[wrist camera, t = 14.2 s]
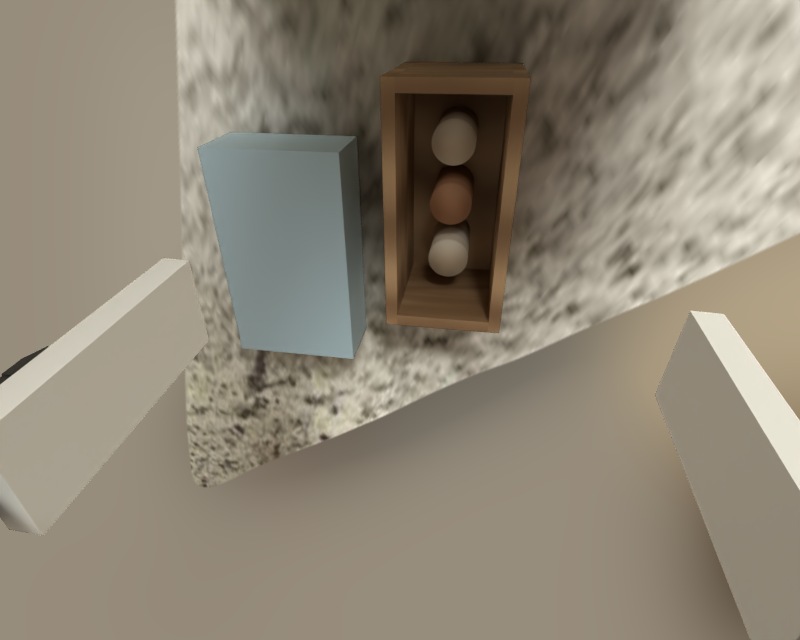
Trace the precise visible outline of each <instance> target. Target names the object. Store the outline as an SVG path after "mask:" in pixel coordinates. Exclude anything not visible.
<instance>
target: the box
mask: <svg viewBox="0 0 800 640" xmlns="http://www.w3.org/2000/svg"><path fill="white" fill-rule="evenodd" d="M530 82H531V78H530V76H529V74H528V72H527V70H526V68H525V67H524V65H523V63H458V62H405V63H403V64H401V65H399V66H398V67H396V68H394V69H393V70H391V71H389V72H387V73H386V74H384V75H382V76H380V99H381V137H382V175H383V212H384V250H385V288H386V324H395V325H407V326H418V327H430V328H442V329H454V330H466V331H478V332H490V333H499V330H500V322H501V314H502V306H503V298H504V290H505V282H506V274H507V266H508V258H509V250H510V242H511V234H512V226H513V218H514V210H515V202H516V194H517V186H518V178H519V170H520V162H521V154H522V146H523V138H524V130H525V122H526V114H527V106H528V98H529V90H530Z"/></svg>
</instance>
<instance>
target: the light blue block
mask: <svg viewBox="0 0 800 640" xmlns="http://www.w3.org/2000/svg"><path fill="white" fill-rule="evenodd" d="M197 148H198V152H199V157H200V161H201V166H202V170H203V175H204V179H205V184H206V188H207V193H208V197H209V202H210V206H211V210H212V215H213V219H214V224H215V228H216V233H217V237H218V242H219V246H220V251H221V255H222V260H223V264H224V269H225V273H226V278H227V282H228V287H229V291H230V296H231V300H232V304H233V309H234V313H235V318H236V322H237V327H238V331H239V336H240V340H241V345H242V348H244V349H255V350H265V351H275V352H286V353H296V354H306V355H317V356H327V357H337V358H348V359H354V356H355V354H356V351H357V349H358V346H359V344H360V341H361V339H362V336H363V334H364V332H365V329H366V310H365V291H364V271H363V251H362V232H361V212H360V192H359V173H358V153H357V136H336V135H303V134H271V133H239V132H230V133H228V134H226V135H223V136H221V137H219V138H217V139H215V140H213V141H210V142H208V143H206V144H204V145H202V146H200V147H197Z"/></svg>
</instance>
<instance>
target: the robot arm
mask: <svg viewBox="0 0 800 640" xmlns="http://www.w3.org/2000/svg"><path fill="white" fill-rule="evenodd" d="M208 341H209V339H208V335H207V331H206V327H205V323H204V319H203V315H202V311H201V307H200V303H199V299H198V295H197V291H196V287H195V283H194V279H193V275H192V271H191V267H190V263H189V261H188V260H178V259H168V258H163V259H162V260H160V261H159V262H158V263H156V264H155V265H154V266H153V267H151V268H150V269H149V270H147V271H146V272H145V273H144V274H142V275H141V276H140V277H138V278H137V279H136V280H135V281H133V282H132V283H131V284H129V285H128V286H127V287H125V288H124V289H123V290H122V291H120V292H119V293H118V294H117V295H115V296H114V297H113V298H111V299H110V300H109V301H107V302H106V303H105V304H104V305H102V306H101V307H100V308H98V309H97V310H96V311H94V312H93V313H92V314H91V315H89V316H88V317H87V318H85V319H84V320H83V321H82V322H80V323H79V324H78V325H76V326H75V327H74V328H73V329H71V330H70V331H69V332H67V333H66V334H65V335H64V336H62V337H61V338H60V339H58V340H57V341H56V342H55V343H53V344H52V345H51V346H47V347H45V348H43V349H41V350H39V351H37V352H35V353H33V354H31V355H29V356H27V357H24V358H23V359H21V360H20V361H18V362H17V363H16V364H15V365H13V366H12V367H10V368H9V369H8V370H7V371H5V372H4V373H2V377H1V378H0V518H1V519H2V521H3V522H4V523H5V525H6V526H7V527H8V529H9V530H15V531H20V532H25V533H31V534H36V535H41V536H43V535H44V534H45V533H46V532H47V531H48V530H49V528H50V527H51V526H52V525H53V524H54V522H55V521H56V520H57V519H58V518H59V517H60V515H61V514H62V513H63V512H64V511H65V510H66V508H67V507H68V506H69V505H70V503H71V502H72V501H73V500H74V499H75V498H76V496H77V495H78V494H79V493H80V492H81V491H82V489H83V488H84V487H85V486H86V485H87V484H88V482H89V481H90V480H91V479H92V478H93V477H94V475H95V474H96V473H97V472H98V471H99V469H100V468H101V467H102V466H103V465H104V464H105V462H106V461H107V460H108V459H109V457H110V456H111V455H112V454H113V453H114V452H115V451H116V449H117V448H118V447H119V446H120V445H121V443H122V442H123V441H124V440H125V439H126V438H127V436H128V435H129V434H130V433H131V432H132V430H133V429H134V428H135V427H136V426H137V425H138V423H139V422H140V421H141V420H142V418H144V416H145V415H146V414H147V413H148V412H149V410H150V409H151V408H152V407H153V406H154V405H155V403H156V402H157V401H158V400H159V399H160V397H161V396H162V395H163V394H164V393H165V392H166V390H167V389H168V388H169V387H170V386H171V384H172V383H173V382H174V381H175V379H177V377H178V376H179V375H180V374H181V373H182V372H183V370H184V369H185V368H186V367H187V366H188V364H189V363H190V362H191V361H192V360H193V359H194V357H195V356H196V355H197V354H198V353H199V351H200V350H201V349H202V348H203V347H204V346H205V344H206V343H207V342H208ZM655 397H656V399H657V402H658V404H659V407H660V410H661V412H662V415H663V417H664V420H665V422H666V425H667V427H668V430H669V433H670V435H671V438H672V440H673V443H674V445H675V448H676V451H677V453H678V455H679V458H680V461H681V463H682V466H683V468H684V471H685V473H686V476H687V479H688V481H689V484H690V486H691V489H692V491H693V494H694V497H695V499H696V502H697V504H698V507H699V509H700V512H701V515H702V517H703V520H704V522H705V525H706V527H707V530H708V532H709V535H710V538H711V540H712V542H713V545H714V548H715V550H716V553H717V555H718V558H719V561H720V563H721V566H722V568H723V571H724V573H725V576H726V578H727V581H728V584H729V586H730V588H731V591H732V594H733V596H734V599H735V602H736V604H737V607H738V609H739V612H740V614H741V617H742V619H743V622H744V625H745V627H746V630H747V632H748V635H749V637H750V640H800V421H799V419H798V418H797V416H796V415H795V413H794V412H793V411H792V409H791V408H790V406H789V405H788V403H787V402H786V401H785V399H784V398H783V397H782V395H781V394H780V392H779V391H778V389H777V388H776V387H775V385H774V384H773V382H772V381H771V380H770V378H769V377H768V375H767V374H766V373H765V371H764V370H763V368H762V367H761V365H760V364H759V363H758V362H757V360H756V359H755V357H754V356H753V354H752V353H751V351H750V350H749V349H748V347H747V346H746V344H745V343H744V341H743V340H742V339H741V337H740V336H739V335H738V333H737V332H736V330H735V329H734V327H733V326H732V325H731V323H730V322H729V320H728V319H727V318H726V316H725V315H724V314H718V313H708V312H698V311H690V313H689V315H688V317H687V320H686V322H685V324H684V327H683V329H682V332H681V334H680V336H679V339H678V341H677V344H676V346H675V349H674V351H673V353H672V355H671V358H670V360H669V362H668V365H667V367H666V370H665V372H664V374H663V377H662V379H661V381H660V384H659V386H658V389H657V391H656V393H655Z"/></svg>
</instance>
